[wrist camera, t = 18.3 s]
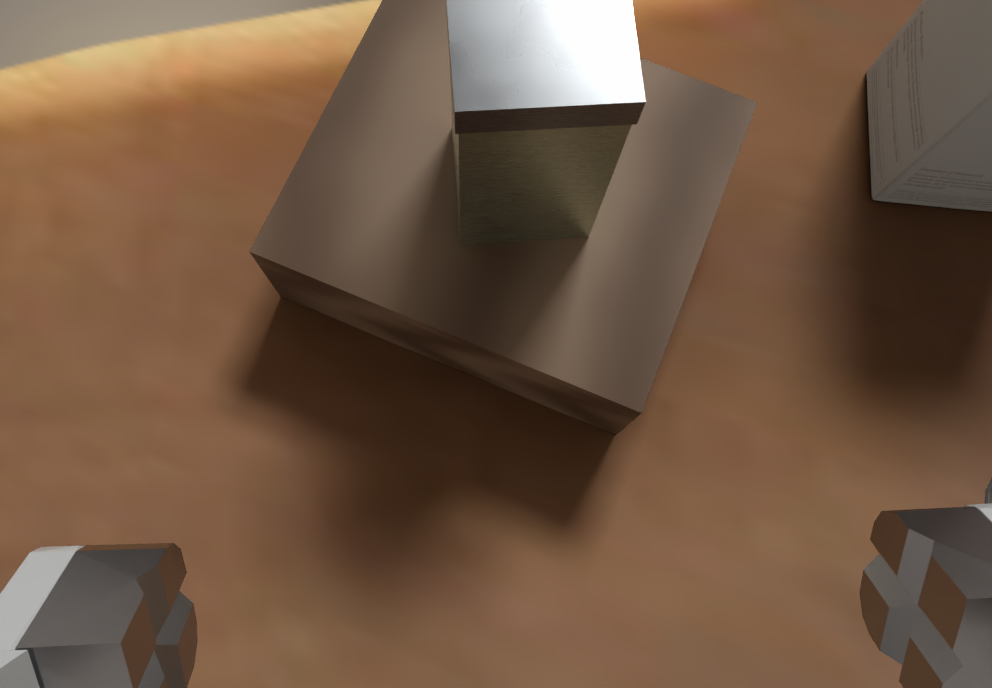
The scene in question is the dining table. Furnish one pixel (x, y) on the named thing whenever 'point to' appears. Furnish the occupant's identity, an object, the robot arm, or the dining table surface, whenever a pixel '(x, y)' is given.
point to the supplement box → (934, 109)
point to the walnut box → (498, 266)
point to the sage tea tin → (539, 112)
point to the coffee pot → (988, 493)
